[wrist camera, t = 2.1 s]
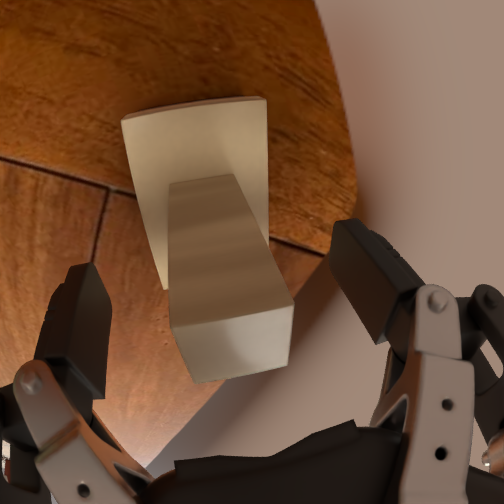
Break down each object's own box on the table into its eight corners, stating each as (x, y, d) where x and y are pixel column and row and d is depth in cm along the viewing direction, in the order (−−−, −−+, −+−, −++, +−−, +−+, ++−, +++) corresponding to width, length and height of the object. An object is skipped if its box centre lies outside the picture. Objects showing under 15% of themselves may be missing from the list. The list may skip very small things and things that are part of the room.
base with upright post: (132, 107, 11) (43, 215, 4) (248, 90, 12) (381, 163, 4) (163, 252, 17) (172, 424, 9) (254, 236, 17) (320, 393, 10)
